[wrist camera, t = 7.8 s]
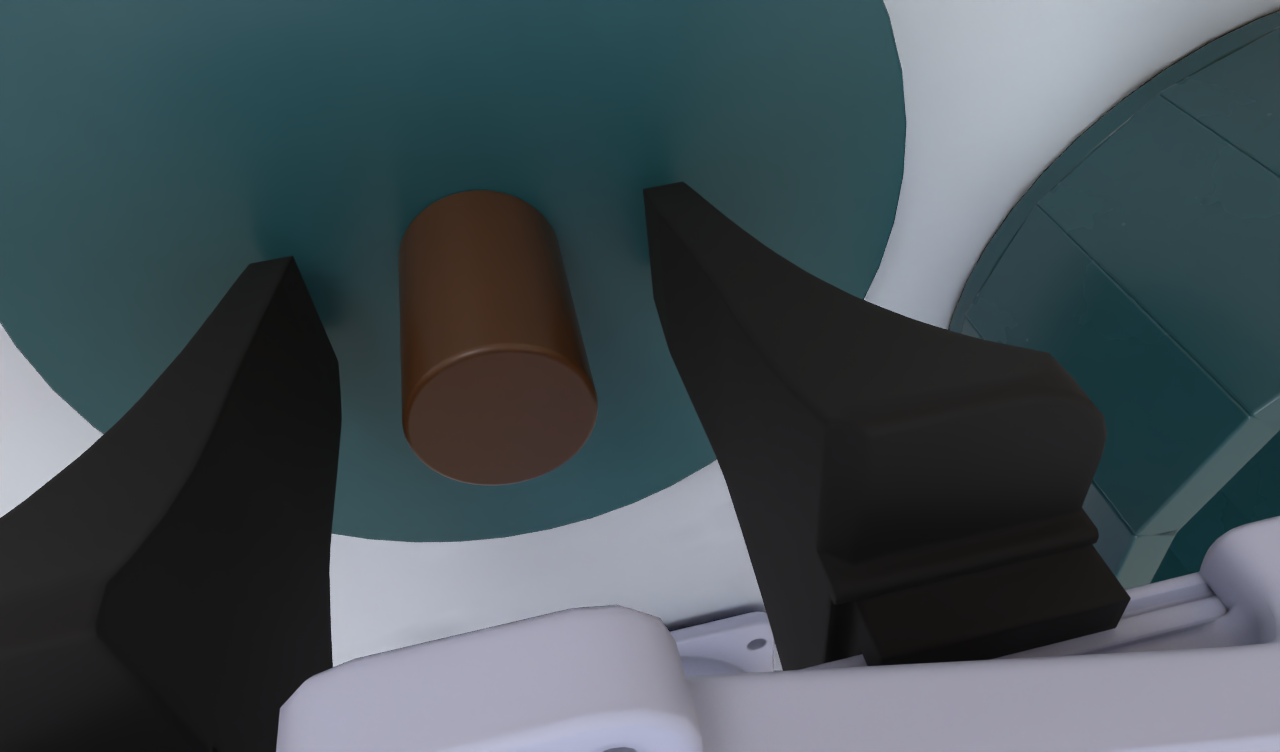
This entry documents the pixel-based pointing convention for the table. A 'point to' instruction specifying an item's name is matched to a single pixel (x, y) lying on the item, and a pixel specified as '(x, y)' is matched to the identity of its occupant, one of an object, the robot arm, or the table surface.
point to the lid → (433, 214)
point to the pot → (1160, 300)
